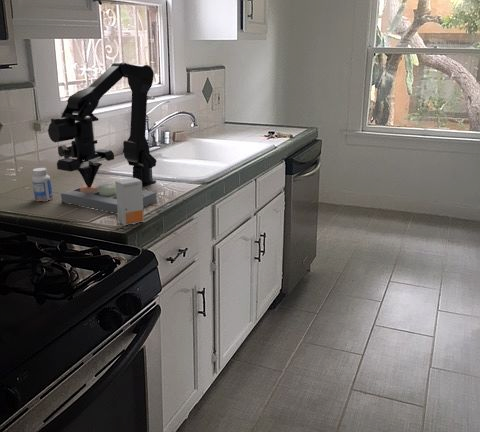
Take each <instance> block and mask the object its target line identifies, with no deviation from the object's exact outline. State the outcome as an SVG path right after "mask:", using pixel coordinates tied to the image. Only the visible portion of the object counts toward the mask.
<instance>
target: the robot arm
mask: <svg viewBox="0 0 480 432" xmlns="http://www.w3.org/2000/svg"><path fill="white" fill-rule="evenodd" d="M154 75H155V73H154V70H153V68H152V67H151V66H150V65H148V64H130V63H126V62H124V61H115V62H112V63H111V65H110V67H109V68H108V69H107V70H105V71H104V72H103V73H102V74H101V75H100V76H99V77H98V78H96V79H95V80H94V81H93V82H92V83H91V84H89V85H88V86H87V87H85V88H83V89H81V90H78V91H76V92H75V93H73V94H71V95H70V96H69V97H68V98H67V100H66V101H67V104H66V106H65V109H63V110H64V111H63V113H62V114H61V117H58V118H56V117H52V118H51V119H50V121H51V122H50V123H49V125H48V129H47V134H48V137H49V139H50V140H51V141H52V142H53V143H59V142H65V141H71V146H67V145H65V144H63V145H59V146H57V154H58V155H59V157H61V159H58V160H57V162H56V169H57V170H60V171H65V172H75V171H78V172H79V173H80V175H81V177H82V179H83V181H84V183H85V185H87V187H91V186H92V183H94V182H95V181H94V180H95V178H96V175H97V173H98V171H99V169H100V168H101V166H102V165H103V164H102V163H100V162H99V160H102V159H105V160H106V161H107V162H109V161H112V160H115V153H114V152H113V151H112V150H110V149H103V148H102V149H101V148H100V149H97V150H96V146H95V145H96V144H98V140H97V139H95V136H94V135H95V134H94V123H93V122H98V121H99V118H98V117H97V116H95V114H94V113H93V112H94V111H95V110H96V109H97V108H98V106H99V103H100V100H101V98H102V97H103V96H104V95H105V94H106V93H107V92H109V91H110V90H111V88H113V87H114V86H115V85H116V84H117V83H119V81H121V79H123V78H127V84H128V86H129V89H130V91H131V108H130V110H131V111H130V132H129V137H128V139H127V140H124V141H123V150H122V153H123V156H124V158H125V160H126V162H127V163H128V165H129V166H132V178H137V179H139V180H141V181H142V187H146V186H149V185H152V184H154V183H156V182H157V180H155V179H153V168H154V167H156V166H157V159H156V158H155V157H154V156H153V155H152V154H151V152H150V145H149V142H148V140H147V138H146V129H147V128H146V127H147V124H146V123H147V105H148V93H149V91H150V89H151V88H152V86H153V82H154ZM62 157H63V158H62Z"/></svg>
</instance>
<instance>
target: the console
mask: <svg viewBox="0 0 480 432" xmlns="http://www.w3.org/2000/svg"><path fill="white" fill-rule="evenodd" d="M92 184H93V185H98V187H99V186H101V185H105V184H107V182H106V183H105V182H100V181H93V183H92ZM80 187H81V186H78V187H76V188H73V189H70V190H67V191H64V192H60V199H61V203H62V202H65V203H64V204H66V203H71V204H75V205H74V206H76V205H80V206H84V207H83V208H85V207H89V208H88V209H90V208H94V209H98V210H97V211H99V210H103V211H102V212H104V211H107V212H106V213H108V212H113V213H118V210H117V196H116V195H114V196H111V197H104V196H99V191H96V192H93V193H90V194H89V193H84V192H80ZM142 193H143V208H145V207H147V206H146V205H148V206H149V204H150V205H152V204H151V203H153V204H155V203H157V192H155V191H149V190H144V189H142ZM154 202H155V203H154ZM71 204H70V205H71ZM80 206H79V207H80ZM144 206H145V207H144ZM94 209H93V210H94ZM113 213H112V214H113Z"/></svg>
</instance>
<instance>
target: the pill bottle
mask: <svg viewBox="0 0 480 432" xmlns="http://www.w3.org/2000/svg"><path fill="white" fill-rule="evenodd" d="M32 174H33V176H32V177H31V183H32V189H33V195H34V200H35V201H36V202H39V201H43V202H49V201H51V200H52V199H54V195H53V188H52V182H51V177H50V175H48V171H47V168H46V167H35V168H33V169H32ZM48 200H49V201H48Z"/></svg>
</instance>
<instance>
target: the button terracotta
mask: <svg viewBox="0 0 480 432" xmlns="http://www.w3.org/2000/svg"><path fill="white" fill-rule="evenodd" d="M79 187H80V192H84V193H89V194H90V193H93V192H96V191H99V189H98V185H93V184H92V186H91V187H87V185H86V184H83V185H81V186H79Z"/></svg>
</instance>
